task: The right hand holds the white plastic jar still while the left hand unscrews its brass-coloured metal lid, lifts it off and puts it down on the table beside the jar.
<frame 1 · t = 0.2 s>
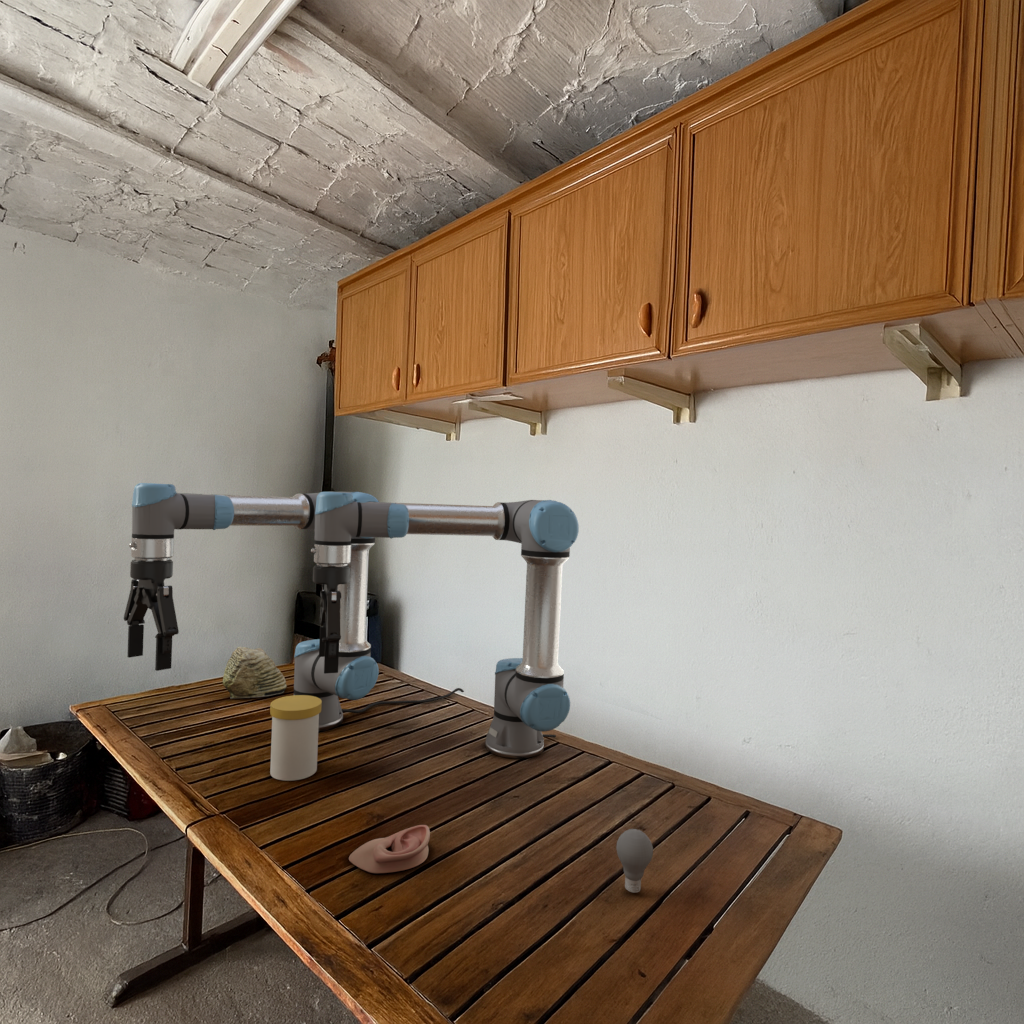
left hand: (148, 662, 129), 28 cm above the table, tool pointing down, fingers open, 13 cm apart
right hand: (328, 664, 135), 28 cm above the table, tool pointing down, fingers open, 13 cm apart
lid: (296, 704, 145), point 15 cm above the table, screwed on, not yet turned
light bulb: (632, 891, 106), on the table
fossil: (254, 694, 198), on the table
anatomical model: (389, 857, 113), on the table
jar: (293, 771, 146), on the table
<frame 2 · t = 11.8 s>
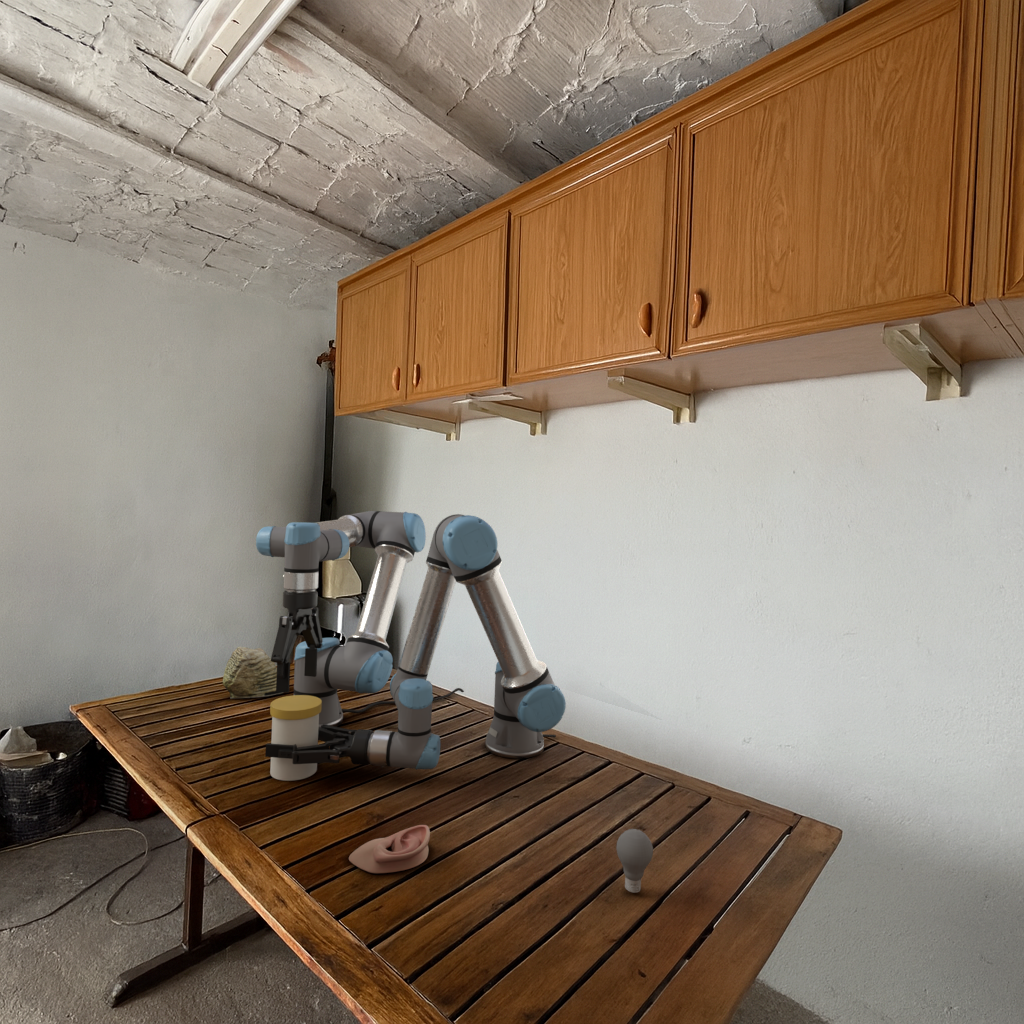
left hand: (297, 683, 145), 20 cm above the table, tool pointing down, fingers open, 12 cm apart
right hand: (277, 740, 146), 7 cm above the table, tool horizontal, fingers closed on jar, 10 cm apart
jar: (293, 770, 146), on the table, touching right hand
everything else where it was.
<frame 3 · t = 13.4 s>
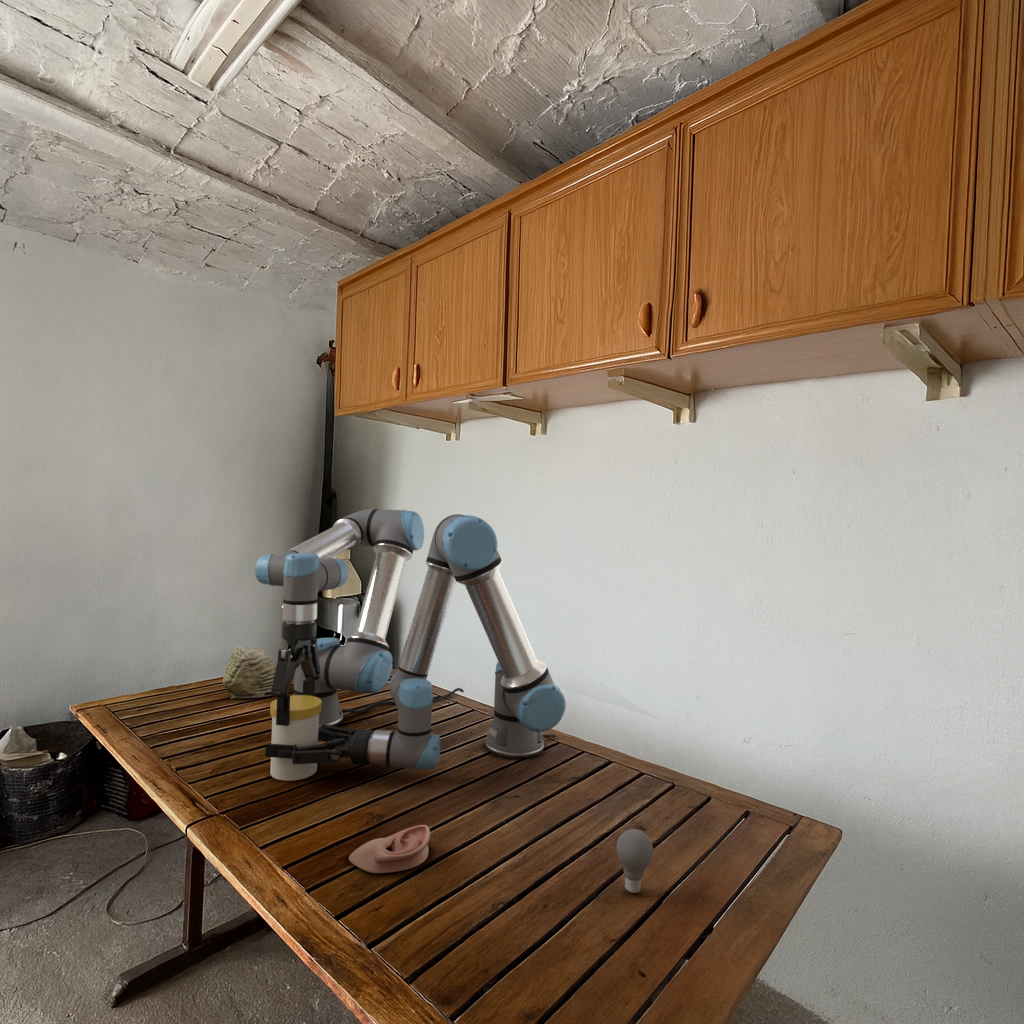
left hand: (295, 716, 145), 13 cm above the table, tool pointing down, fingers closed on lid, 11 cm apart
right hand: (277, 740, 146), 7 cm above the table, tool horizontal, fingers closed on jar, 10 cm apart
lid: (296, 704, 145), point 15 cm above the table, screwed on, not yet turned, touching left hand
jar: (293, 770, 146), on the table, touching right hand
everything else where it was.
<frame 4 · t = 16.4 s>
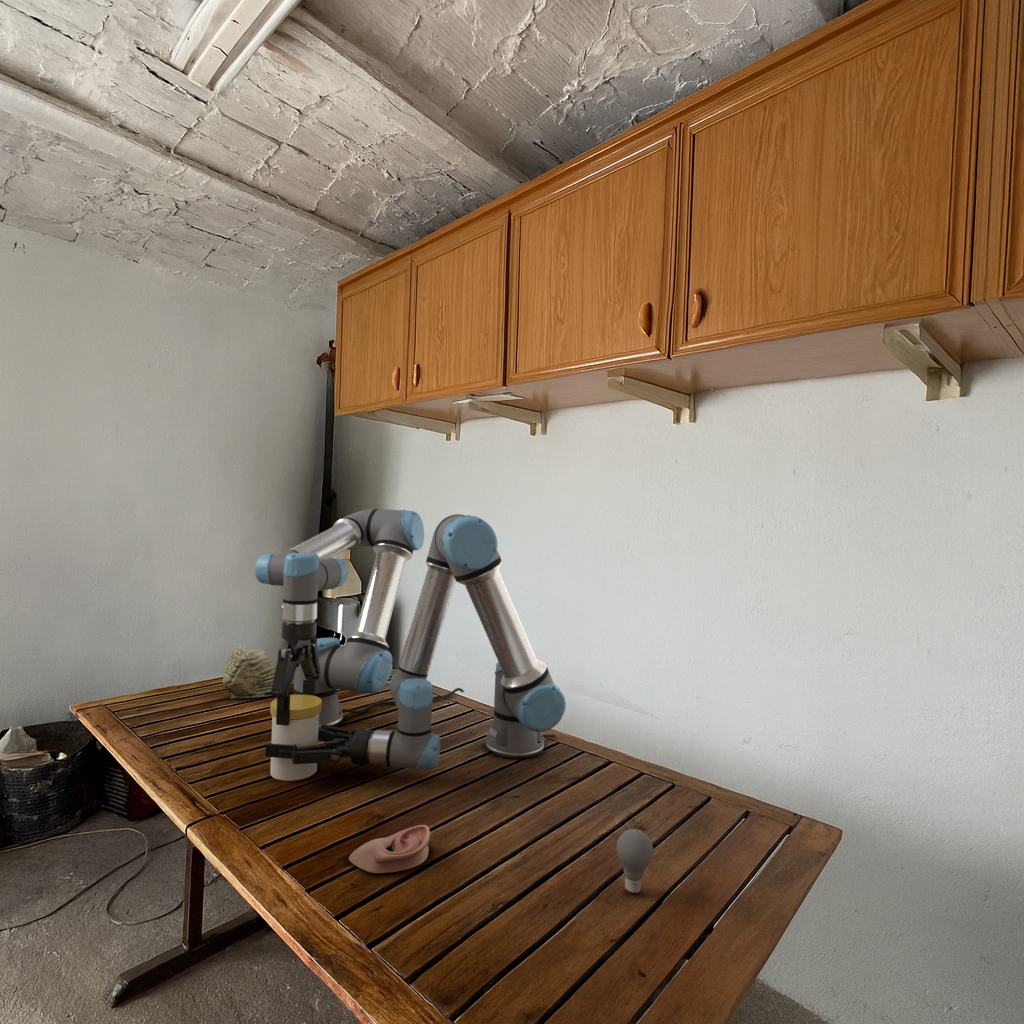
left hand: (295, 715, 145), 13 cm above the table, tool pointing down, fingers closed on lid, 11 cm apart
right hand: (277, 740, 146), 7 cm above the table, tool horizontal, fingers closed on jar, 10 cm apart
lid: (296, 703, 145), point 16 cm above the table, turned 81° so far, risen 0.1 cm, still on its thread, touching left hand
jar: (293, 770, 146), on the table, touching right hand
everything else where it was.
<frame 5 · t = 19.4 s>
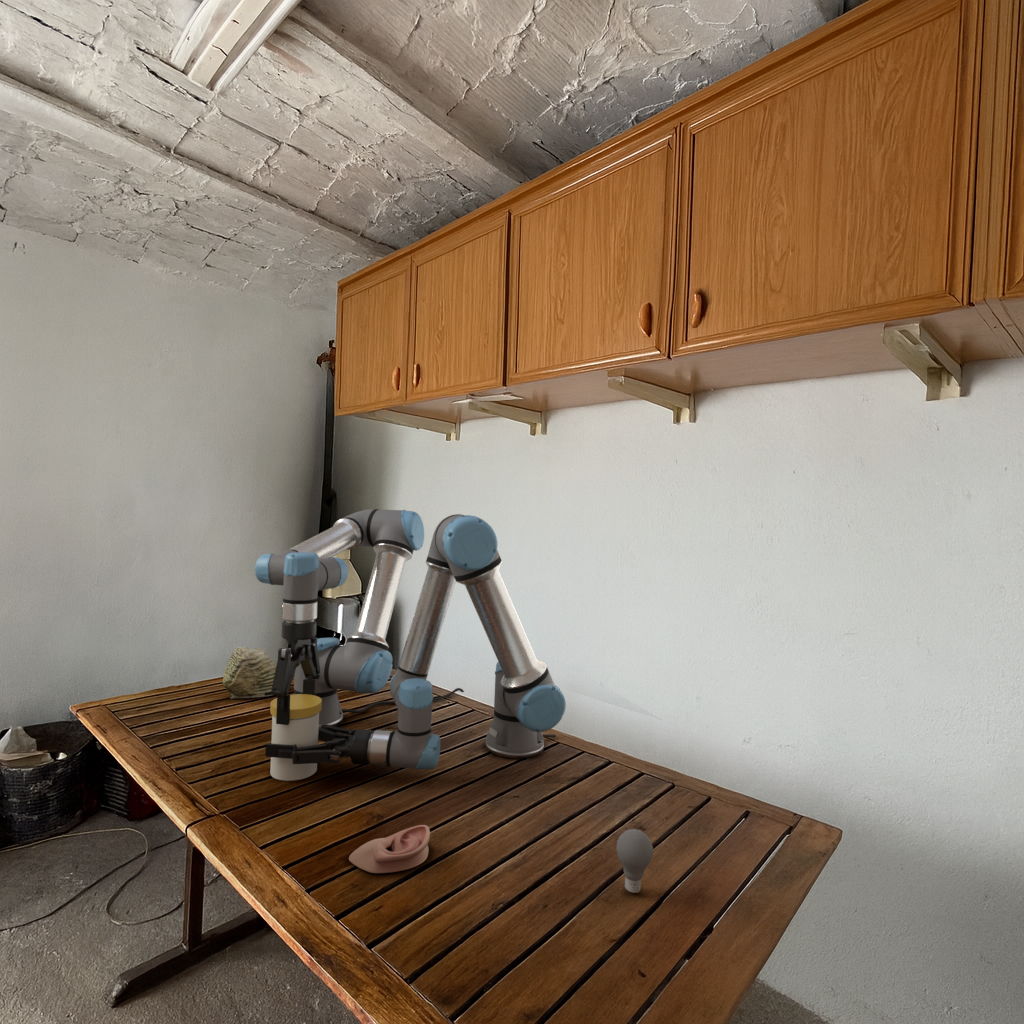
left hand: (295, 715, 145), 13 cm above the table, tool pointing down, fingers closed on lid, 11 cm apart
right hand: (277, 740, 146), 7 cm above the table, tool horizontal, fingers closed on jar, 10 cm apart
lid: (296, 703, 145), point 16 cm above the table, turned 162° so far, risen 0.2 cm, still on its thread, touching left hand
jar: (293, 770, 146), on the table, touching right hand
everything else where it was.
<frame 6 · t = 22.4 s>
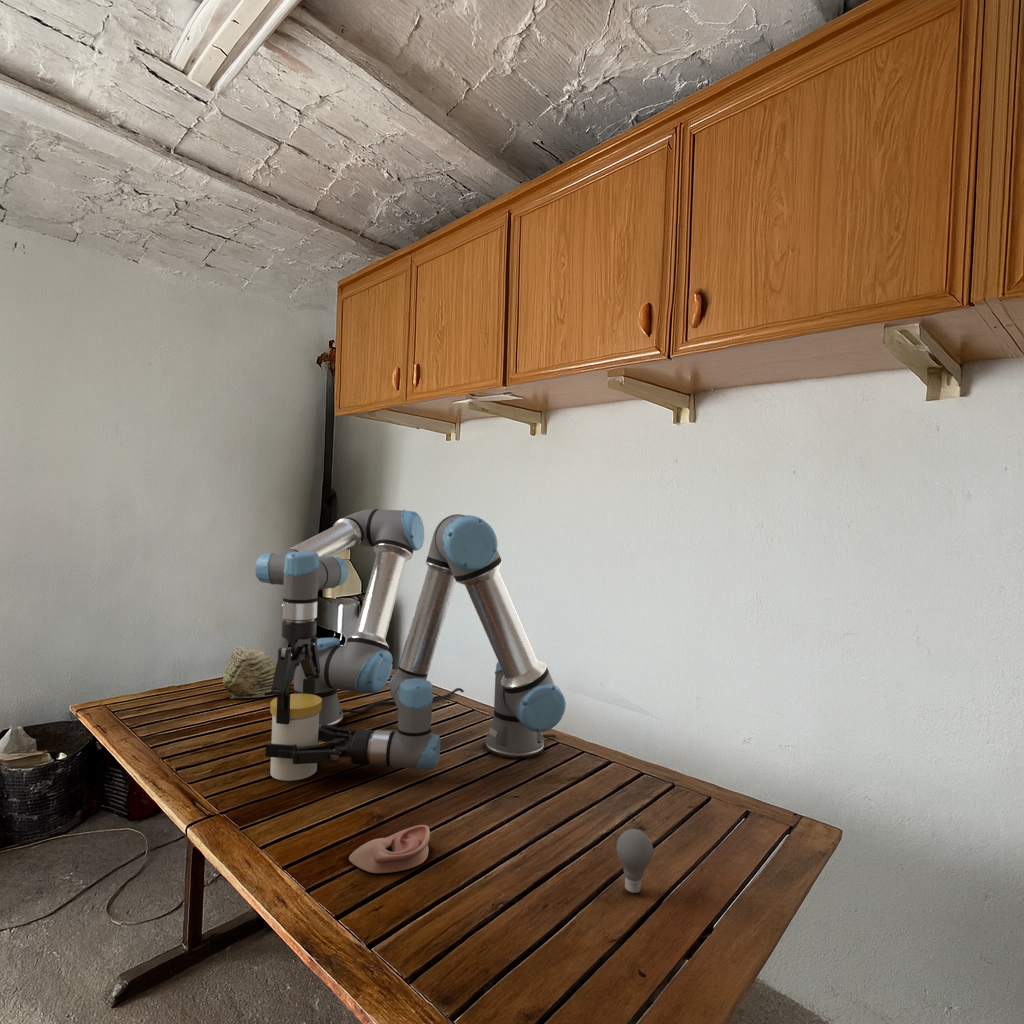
left hand: (296, 714, 145), 13 cm above the table, tool pointing down, fingers closed on lid, 11 cm apart
right hand: (277, 740, 146), 7 cm above the table, tool horizontal, fingers closed on jar, 10 cm apart
lid: (296, 702, 145), point 16 cm above the table, turned 243° so far, risen 0.4 cm, still on its thread, touching left hand
jar: (293, 770, 146), on the table, touching right hand
everything else where it was.
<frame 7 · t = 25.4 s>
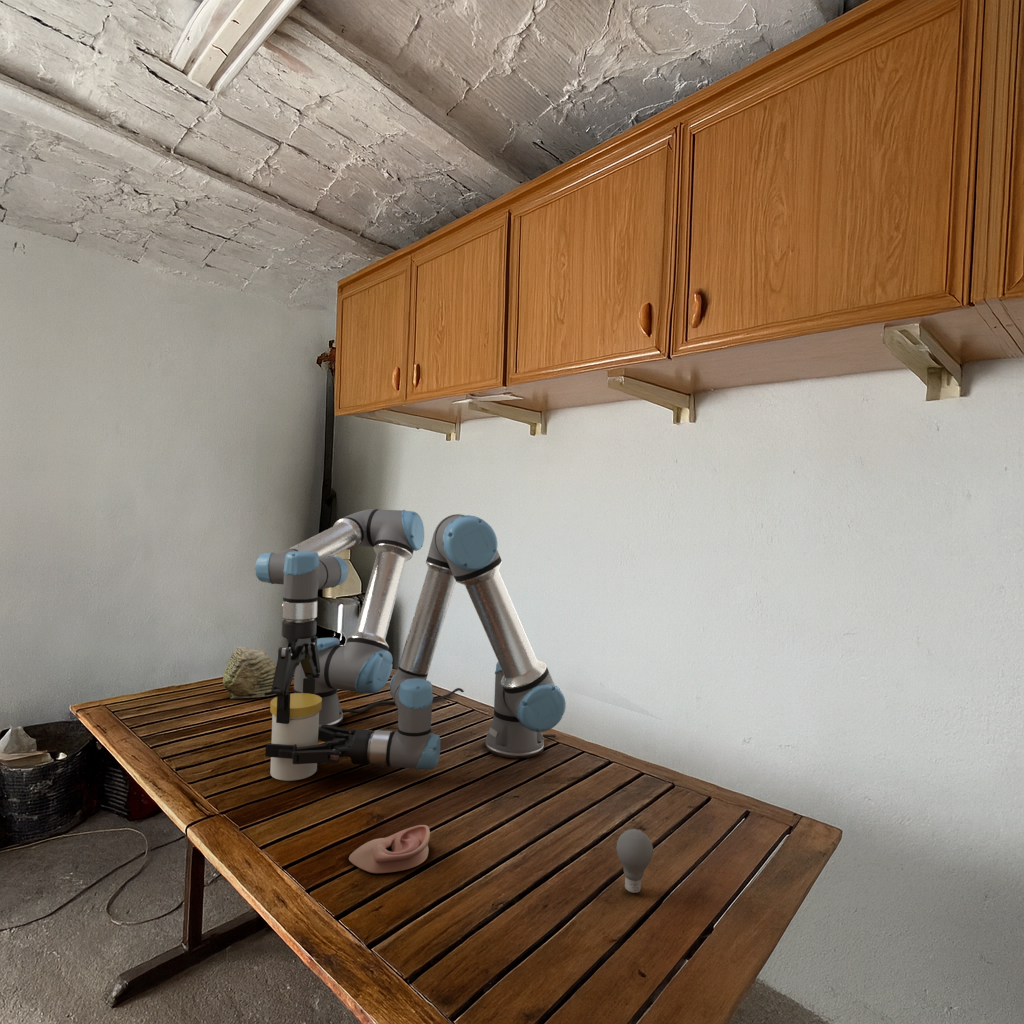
left hand: (296, 714, 145), 13 cm above the table, tool pointing down, fingers closed on lid, 11 cm apart
right hand: (277, 740, 146), 7 cm above the table, tool horizontal, fingers closed on jar, 10 cm apart
lid: (296, 701, 145), point 16 cm above the table, turned 324° so far, risen 0.5 cm, still on its thread, touching left hand
jar: (293, 770, 146), on the table, touching right hand
everything else where it was.
when the left hand's fingers open (0 cm above the table, at t = 31.9 s): lid drops 1 cm, point 2 cm above the table.
when the right hand's fingers open (7 cm above the table, at t = 32.9 s): jar stays where it is, on the table.
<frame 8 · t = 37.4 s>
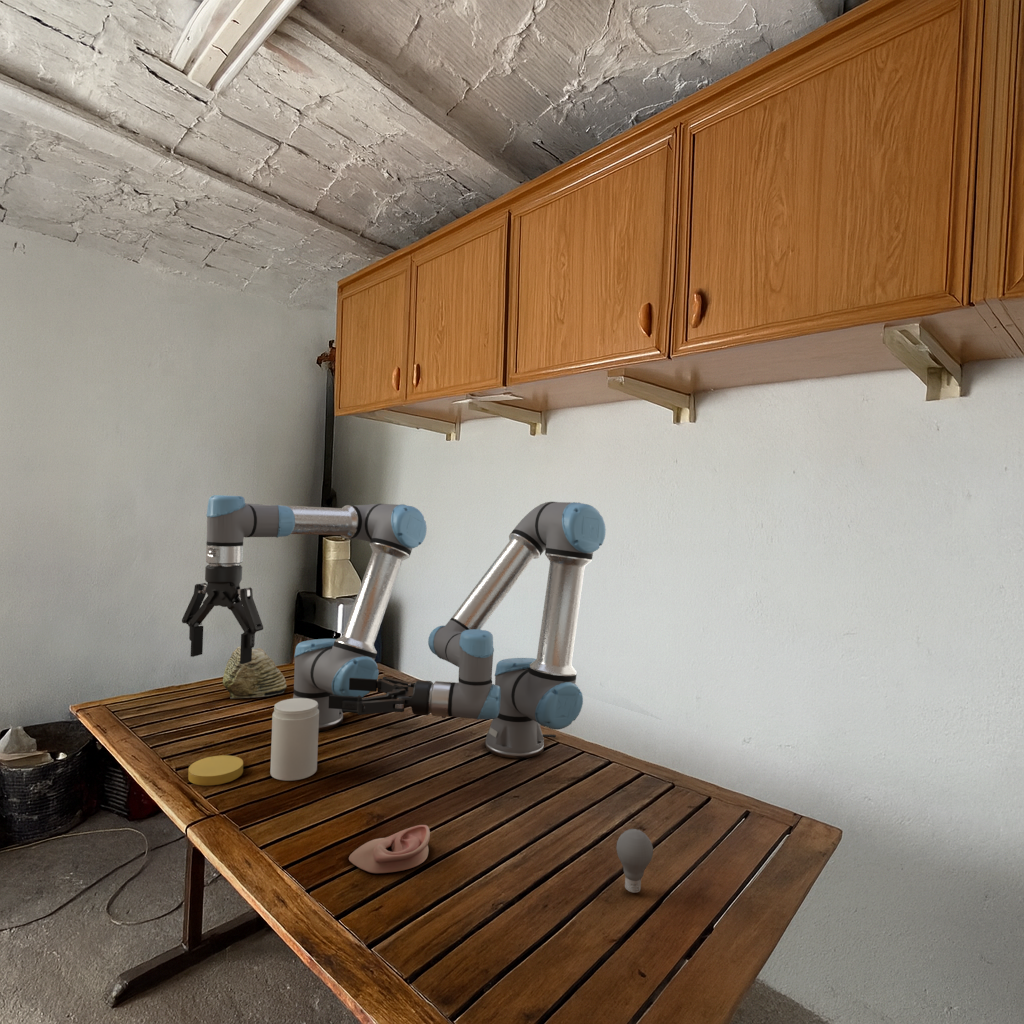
left hand: (220, 659, 142), 26 cm above the table, tool pointing down, fingers open, 13 cm apart
right hand: (339, 692, 144), 19 cm above the table, tool horizontal, fingers open, 13 cm apart
lid: (216, 766, 142), point 2 cm above the table, off its thread
jar: (293, 770, 146), on the table
everything else where it was.
at the end: lid came off its thread; lid point 1.7 cm above the table; the left hand is holding nothing; the right hand is holding nothing; jar tilted 0°; jar moved 0.0 cm from its start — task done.
